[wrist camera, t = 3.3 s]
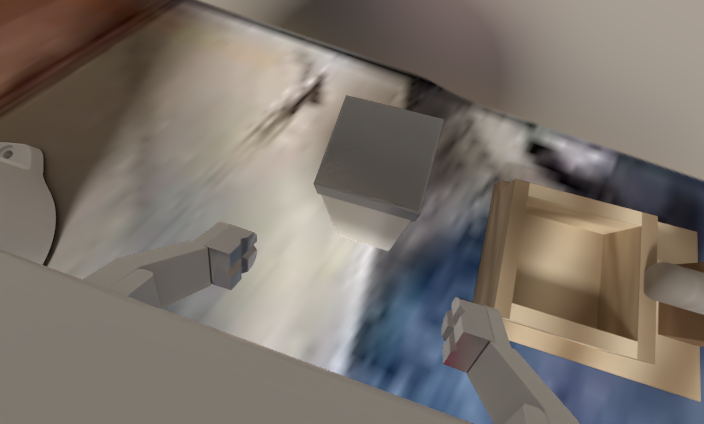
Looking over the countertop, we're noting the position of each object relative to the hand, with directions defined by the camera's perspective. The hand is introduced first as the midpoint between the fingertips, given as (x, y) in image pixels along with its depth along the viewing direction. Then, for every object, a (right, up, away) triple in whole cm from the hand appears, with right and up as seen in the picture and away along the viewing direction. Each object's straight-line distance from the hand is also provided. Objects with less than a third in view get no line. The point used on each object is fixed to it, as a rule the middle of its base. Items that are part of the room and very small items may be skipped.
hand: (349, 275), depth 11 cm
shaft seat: (+18, -3, +11) cm, 21 cm away
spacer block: (+2, +2, +13) cm, 13 cm away
